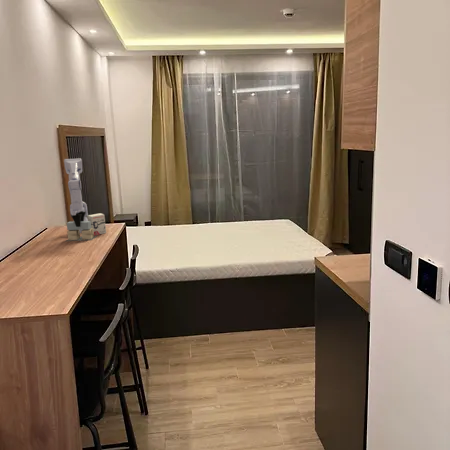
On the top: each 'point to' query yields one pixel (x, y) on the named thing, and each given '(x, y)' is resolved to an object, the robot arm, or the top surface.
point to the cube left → (73, 234)
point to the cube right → (87, 234)
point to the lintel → (83, 225)
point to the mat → (81, 239)
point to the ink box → (97, 223)
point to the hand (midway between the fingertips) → (79, 225)
